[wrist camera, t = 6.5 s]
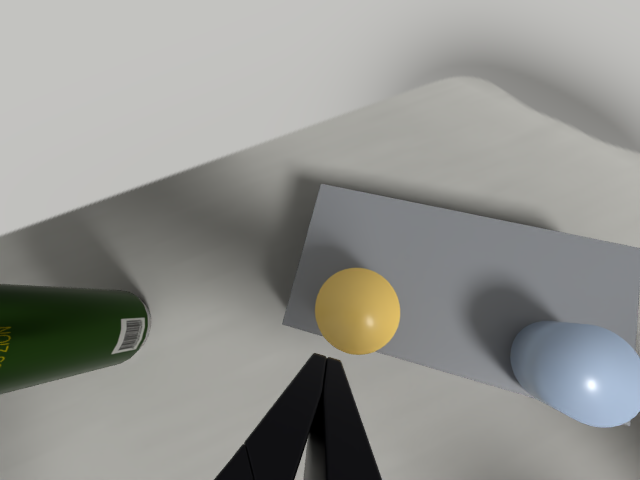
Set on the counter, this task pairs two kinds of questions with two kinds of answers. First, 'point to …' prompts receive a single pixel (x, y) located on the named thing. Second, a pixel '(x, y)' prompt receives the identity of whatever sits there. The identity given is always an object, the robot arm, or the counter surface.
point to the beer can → (66, 332)
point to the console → (464, 279)
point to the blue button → (579, 371)
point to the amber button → (357, 311)
